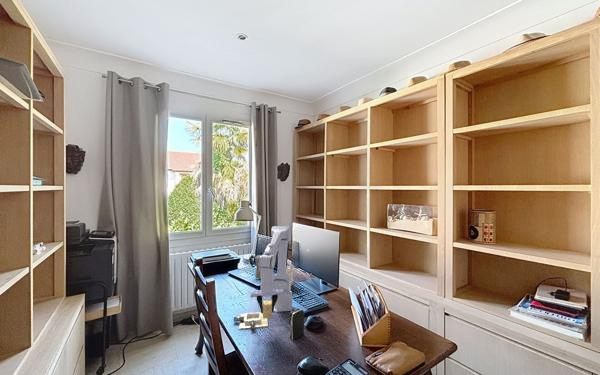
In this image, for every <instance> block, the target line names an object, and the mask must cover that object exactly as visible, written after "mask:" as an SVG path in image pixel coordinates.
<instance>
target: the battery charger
mask: <svg viewBox="0 0 600 375" xmlns="http://www.w3.org/2000/svg"><path fill="white" fill-rule="evenodd" d="M288 325H289V326H290V335H289V338H290V339H291V340H292V341H295V340H297V339H299V338H300V337H302V336H304V335H305V311H304V310H303V309H301V308H296V309H292V311H290V312H289V313H288Z"/></svg>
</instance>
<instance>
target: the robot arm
mask: <svg viewBox="0 0 600 375" xmlns="http://www.w3.org/2000/svg"><path fill="white" fill-rule="evenodd" d="M270 235H271V240H270V243H268V244H267V246H266V247H265V249H264V251H263V253H262V256H260V257H259V263H258V265H259V271H260V272H261V280H260V289H259V290H254V291H250V299H253V298H256V301H257V303H258V305H259V308H260V312H261V313H263V297H265V298H268V297H270V296H271V301H272V314H274V313H276V312H289V311H290V312H291V311H293V292H292V290H291V289H292V287H291V277H290V276H289V275H288V274H287V273H286V267H287V260H288V259H287V255H288V243H289V242H291V240H292V229H291V227H290V226H275V225H273V226H272V227H271V230H270ZM276 258H277V259H276ZM276 260H277V271H276V273H275V274H274V268H275V265H276Z"/></svg>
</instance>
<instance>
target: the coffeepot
mask: <svg viewBox="0 0 600 375" xmlns="http://www.w3.org/2000/svg"><path fill="white" fill-rule="evenodd" d="M262 255H263V252H259V255H250V257H249V258H248V259H249V262H250V265H251V266H250V267H251V268H255V267H256V270H255V276H254V278H255V277H256V278H258V279H261V272H260V271H259V265H258V263H259V257H260V256H262ZM252 259H253V260H255V265H254V262H253V260H252ZM256 278H255V279H256ZM258 279H257V280H258Z"/></svg>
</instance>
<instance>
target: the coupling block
mask: <svg viewBox="0 0 600 375" xmlns="http://www.w3.org/2000/svg"><path fill="white" fill-rule="evenodd" d="M262 307H263V319H264V318H267V319H273V313H272V299H271V300H270V299H269V300H262Z"/></svg>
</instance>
